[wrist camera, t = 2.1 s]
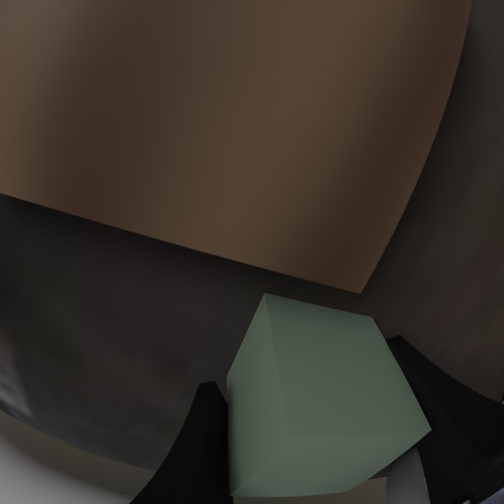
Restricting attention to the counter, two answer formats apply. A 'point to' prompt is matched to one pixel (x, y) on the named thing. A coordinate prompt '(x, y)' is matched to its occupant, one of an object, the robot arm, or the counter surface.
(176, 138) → the plinth
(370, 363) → the block
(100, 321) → the counter surface
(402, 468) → the donut
